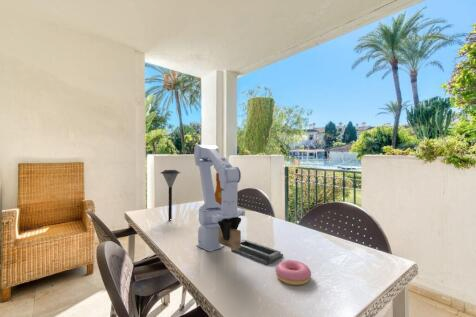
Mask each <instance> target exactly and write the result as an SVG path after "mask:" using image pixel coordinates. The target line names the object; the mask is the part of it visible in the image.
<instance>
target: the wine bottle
mask: <svg viewBox="0 0 476 317" xmlns="http://www.w3.org/2000/svg"><path fill="white" fill-rule="evenodd" d="M215 181H216V187H215V190H214V194H215V200H216V202H217V203H219V204H220V205H222V188H221V187H220V180H219V174H218V172H217V171H216V173H215Z"/></svg>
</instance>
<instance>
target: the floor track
mask: <svg viewBox="0 0 476 317" xmlns="http://www.w3.org/2000/svg"><path fill="white" fill-rule="evenodd" d="M230 249H231V252H233V253H236V254H239V255H241V256H243V257H245V258H248V259H250V260H253V261H255V262H258V263H261V264H262V265H265V266H268V265H271V264H273V263H275V262H277V261H278V260H280V259H283V257H284V253H281V251H279V250H277V249H274V248H271V247H268V246H265V245H262V244H259V243H256V242H253V241H250V240H247V239H243V240H241V248H239V249H237V250H235V249H232V248H230Z"/></svg>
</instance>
